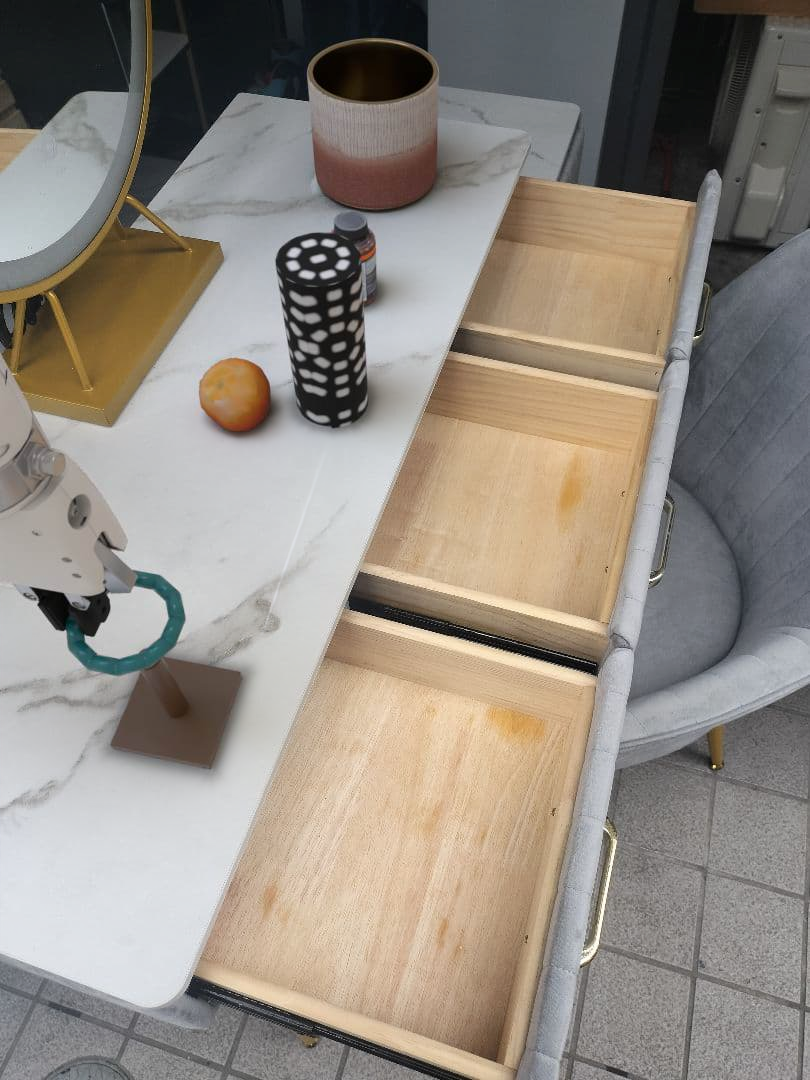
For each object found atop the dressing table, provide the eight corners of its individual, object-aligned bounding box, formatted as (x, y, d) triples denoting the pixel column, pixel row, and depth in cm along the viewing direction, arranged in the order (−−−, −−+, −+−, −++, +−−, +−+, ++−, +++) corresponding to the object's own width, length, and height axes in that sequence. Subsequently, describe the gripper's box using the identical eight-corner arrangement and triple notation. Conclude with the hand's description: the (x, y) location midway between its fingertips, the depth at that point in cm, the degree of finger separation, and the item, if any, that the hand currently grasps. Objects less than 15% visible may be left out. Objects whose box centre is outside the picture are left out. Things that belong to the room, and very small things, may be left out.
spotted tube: (311, 438, 92) (292, 296, 76) (287, 389, 97) (263, 245, 80) (379, 416, 94) (374, 272, 78) (352, 369, 99) (342, 224, 82)
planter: (338, 138, 127) (330, 29, 114) (448, 156, 124) (454, 46, 111) (299, 204, 117) (286, 93, 104) (418, 224, 115) (420, 113, 102)
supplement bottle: (322, 298, 106) (314, 221, 96) (351, 275, 109) (346, 198, 99) (357, 317, 104) (353, 240, 94) (386, 293, 107) (385, 216, 97)
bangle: (49, 664, 58) (43, 657, 57) (98, 567, 63) (93, 559, 62) (160, 687, 57) (156, 680, 56) (201, 587, 62) (198, 579, 61)
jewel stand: (113, 749, 72) (71, 699, 63) (151, 659, 77) (117, 600, 68) (210, 770, 71) (182, 722, 62) (242, 677, 76) (220, 619, 67)
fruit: (300, 396, 94) (265, 371, 87) (260, 451, 95) (222, 431, 87) (254, 362, 97) (216, 335, 90) (216, 416, 98) (175, 393, 90)
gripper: (134, 427, 46) (201, 592, 62) (-115, 387, 48) (10, 557, 63) (79, 534, 42) (165, 682, 57) (-192, 486, 44) (-38, 642, 59)
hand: (83, 615), depth 60 cm, fingers closed on bangle, 1 cm apart
